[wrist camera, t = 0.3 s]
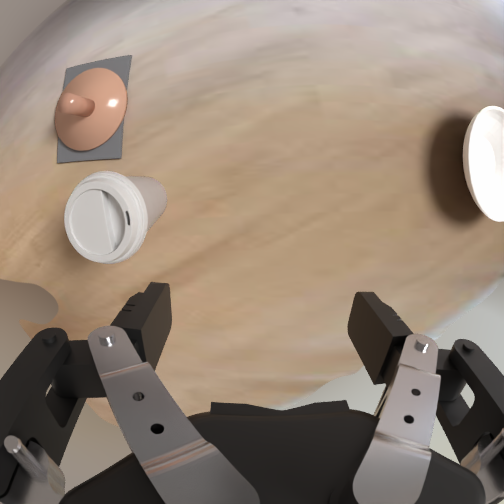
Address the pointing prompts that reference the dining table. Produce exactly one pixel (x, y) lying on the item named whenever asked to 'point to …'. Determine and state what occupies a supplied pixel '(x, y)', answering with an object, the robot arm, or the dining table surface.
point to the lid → (91, 109)
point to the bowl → (486, 161)
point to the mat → (114, 144)
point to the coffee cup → (112, 215)
